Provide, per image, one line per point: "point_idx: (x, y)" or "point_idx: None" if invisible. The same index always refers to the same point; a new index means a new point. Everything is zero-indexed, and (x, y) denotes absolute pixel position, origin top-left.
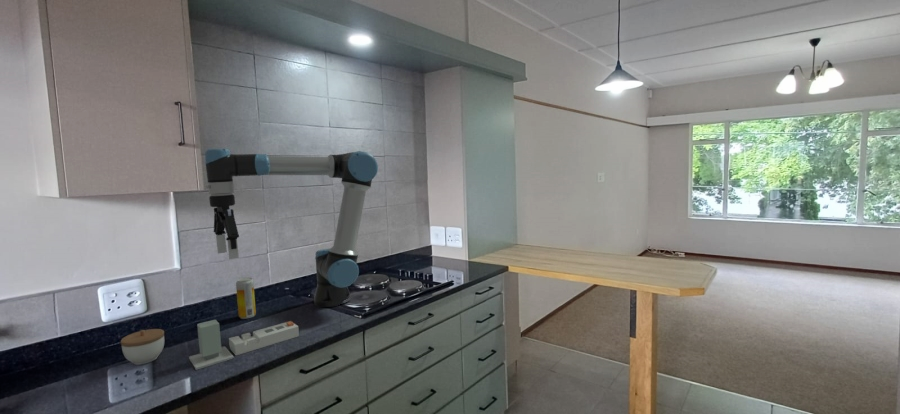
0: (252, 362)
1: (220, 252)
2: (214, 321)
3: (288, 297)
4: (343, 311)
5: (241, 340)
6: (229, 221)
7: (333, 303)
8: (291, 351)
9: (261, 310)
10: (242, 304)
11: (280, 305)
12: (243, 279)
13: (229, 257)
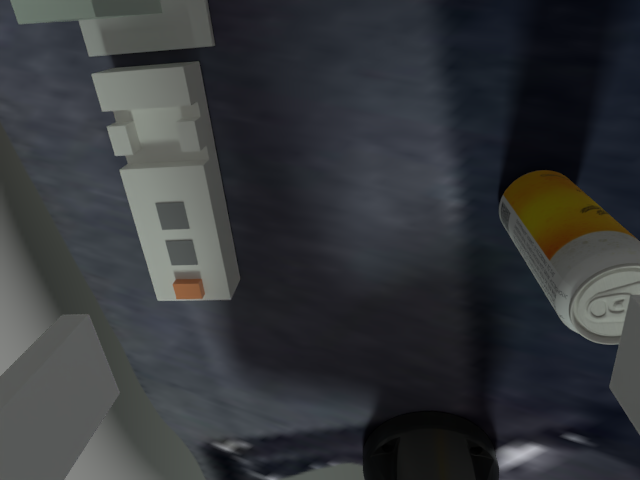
0: (28, 105)
1: (631, 327)
2: (63, 6)
3: None
4: (301, 438)
5: (125, 106)
6: None
7: (367, 448)
8: (60, 225)
9: None
10: (531, 209)
11: (553, 334)
12: None
13: (59, 328)
